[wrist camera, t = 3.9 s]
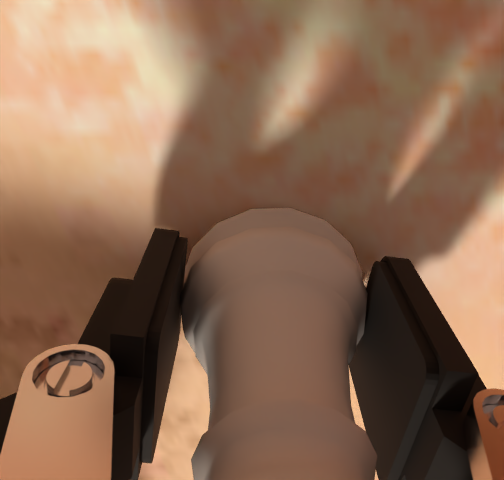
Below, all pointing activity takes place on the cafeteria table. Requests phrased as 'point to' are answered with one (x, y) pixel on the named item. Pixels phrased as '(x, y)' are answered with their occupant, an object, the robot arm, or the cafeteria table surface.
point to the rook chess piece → (277, 348)
